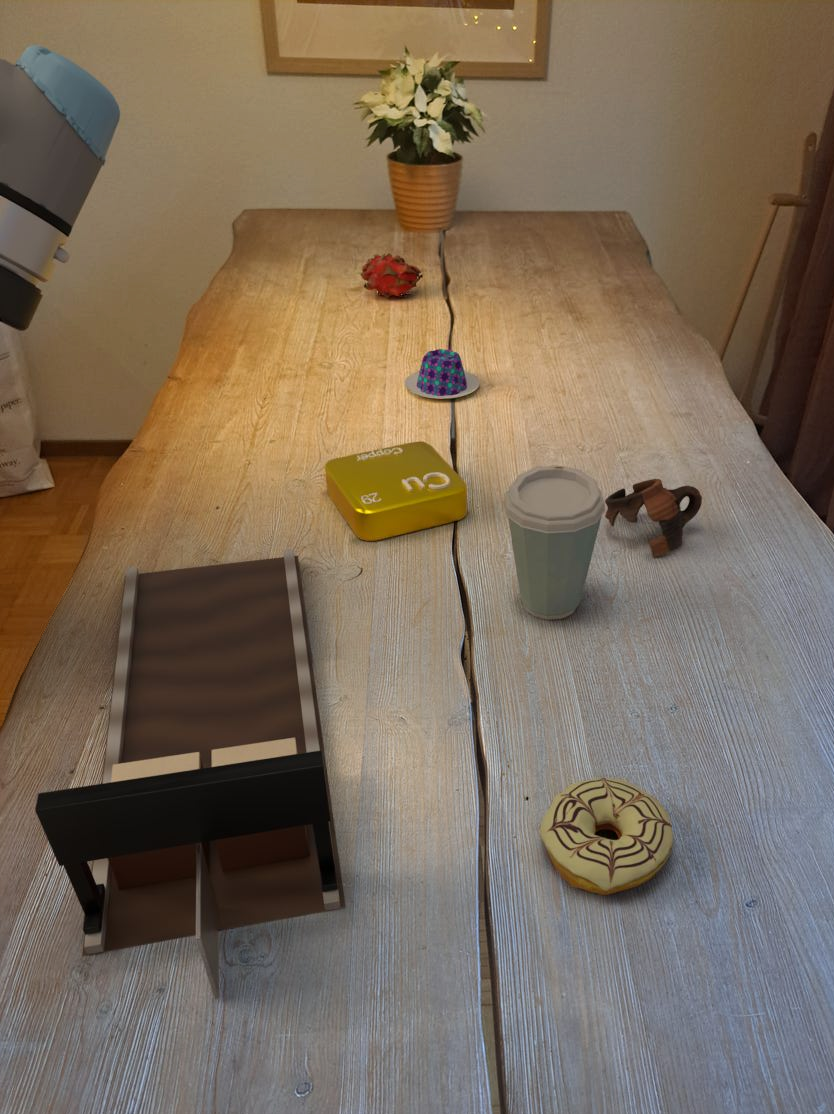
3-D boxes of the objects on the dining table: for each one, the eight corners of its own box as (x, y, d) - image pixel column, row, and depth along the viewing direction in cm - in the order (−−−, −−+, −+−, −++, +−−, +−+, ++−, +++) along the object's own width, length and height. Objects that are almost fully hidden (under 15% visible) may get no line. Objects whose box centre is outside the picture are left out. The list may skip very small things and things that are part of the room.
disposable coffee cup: (590, 638, 101) (603, 519, 92) (491, 626, 103) (494, 507, 93) (598, 581, 109) (611, 467, 100) (507, 571, 111) (511, 457, 101)
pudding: (492, 380, 152) (493, 349, 149) (457, 409, 144) (457, 376, 141) (428, 366, 157) (427, 335, 153) (390, 393, 148) (389, 361, 145)
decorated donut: (515, 848, 79) (517, 819, 77) (596, 782, 85) (600, 753, 83) (612, 924, 73) (617, 895, 71) (692, 847, 79) (699, 818, 77)
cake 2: (221, 789, 82) (211, 749, 79) (301, 776, 84) (295, 737, 80) (222, 871, 76) (212, 831, 72) (310, 856, 77) (303, 816, 74)
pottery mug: (636, 570, 112) (613, 506, 110) (609, 560, 121) (587, 500, 119) (724, 530, 113) (704, 466, 111) (690, 523, 122) (671, 463, 120)
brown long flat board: (127, 583, 108) (122, 567, 107) (298, 563, 112) (296, 547, 110) (85, 965, 70) (78, 948, 69) (347, 916, 74) (344, 900, 72)
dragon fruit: (357, 302, 184) (418, 310, 186) (360, 289, 176) (423, 296, 178) (360, 258, 184) (421, 266, 186) (362, 242, 175) (426, 251, 177)
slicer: (89, 897, 73) (40, 780, 65) (336, 855, 77) (320, 738, 68) (75, 1026, 65) (16, 911, 56) (351, 972, 68) (335, 855, 60)
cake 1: (126, 804, 81) (112, 764, 78) (209, 791, 82) (199, 751, 79) (119, 889, 74) (103, 849, 71) (209, 874, 75) (198, 834, 72)
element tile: (426, 466, 130) (425, 434, 127) (472, 518, 120) (472, 485, 117) (323, 488, 125) (319, 456, 122) (361, 545, 115) (358, 511, 112)
